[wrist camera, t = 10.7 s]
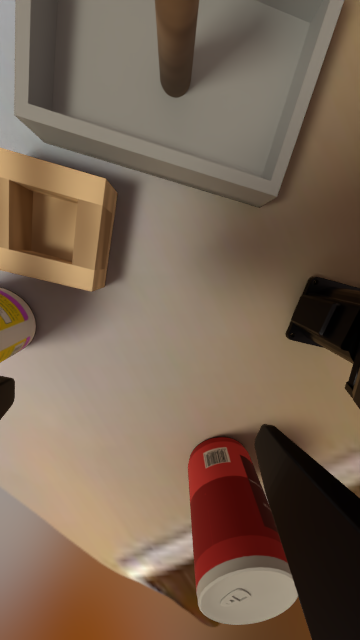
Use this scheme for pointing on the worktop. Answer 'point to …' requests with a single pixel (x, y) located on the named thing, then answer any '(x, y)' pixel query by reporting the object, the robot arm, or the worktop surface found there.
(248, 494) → the canned food
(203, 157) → the tray
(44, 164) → the holder
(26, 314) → the supplement bottle
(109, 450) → the worktop surface
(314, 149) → the worktop surface
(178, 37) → the pin
